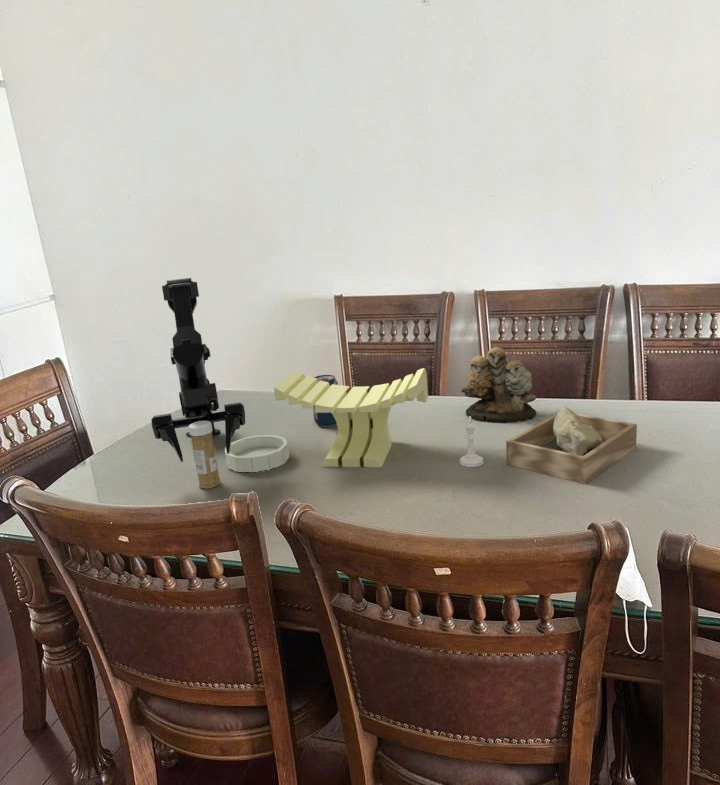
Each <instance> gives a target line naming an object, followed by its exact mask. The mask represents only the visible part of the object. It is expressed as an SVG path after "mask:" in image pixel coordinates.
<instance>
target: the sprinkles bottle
mask: <svg viewBox="0 0 720 785" xmlns="http://www.w3.org/2000/svg"><path fill="white" fill-rule="evenodd" d="M188 432H189V433H190V436H191V437H190V436H189V437H190V439H191V444H192V452H193V453H192V454H193V458H194V464H195V470H196V473H197V478H198V479H197V480H198V486H199V488H202V489H211V488H215V487H218V486H219V485H220V484H221V479H220V473H219V467H218V460H217V454H216V449H215V443H214V439H213V438H214V437H213V435H212V424H211V422H210V421H198V422H194V423H192V424H190V425H189V426H188Z"/></svg>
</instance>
